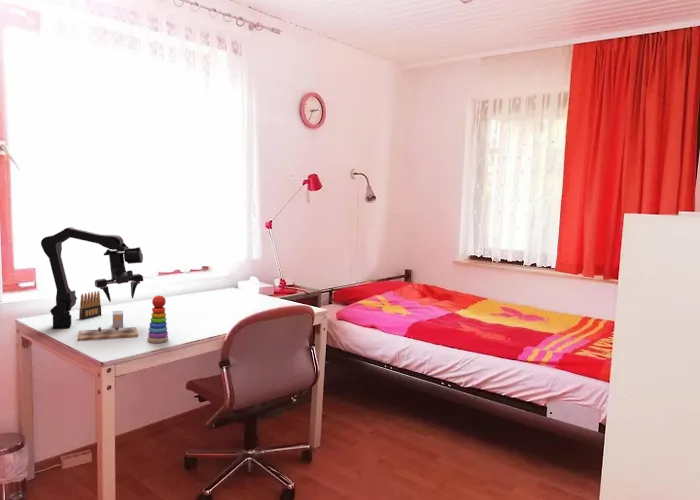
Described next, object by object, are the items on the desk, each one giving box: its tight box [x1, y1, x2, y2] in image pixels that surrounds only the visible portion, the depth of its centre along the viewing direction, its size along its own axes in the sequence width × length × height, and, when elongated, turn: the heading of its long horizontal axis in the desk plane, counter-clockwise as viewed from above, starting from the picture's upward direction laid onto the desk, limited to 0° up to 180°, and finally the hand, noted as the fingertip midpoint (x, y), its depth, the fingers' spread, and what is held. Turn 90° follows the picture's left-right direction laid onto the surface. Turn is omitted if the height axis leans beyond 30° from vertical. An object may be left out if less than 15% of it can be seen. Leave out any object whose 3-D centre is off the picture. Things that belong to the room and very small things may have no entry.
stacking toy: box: [146, 295, 169, 344], centre depth 209 cm, size 8×8×19 cm
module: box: [112, 310, 124, 329], centre depth 227 cm, size 4×7×6 cm, turn 26°
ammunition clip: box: [78, 290, 102, 321], centre depth 240 cm, size 11×2×12 cm, turn 157°
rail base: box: [77, 326, 139, 342], centre depth 214 cm, size 22×12×3 cm, turn 116°
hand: (121, 299), depth 225 cm, fingers open, 9 cm apart
